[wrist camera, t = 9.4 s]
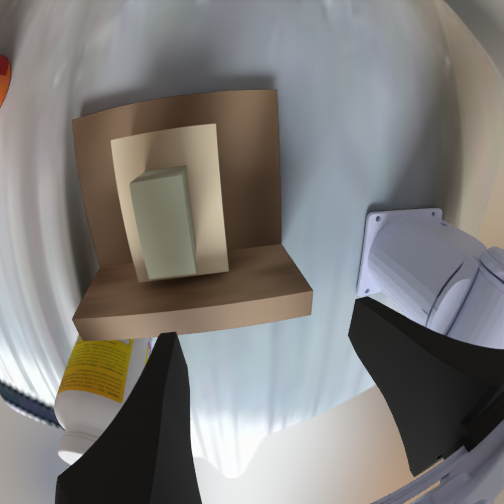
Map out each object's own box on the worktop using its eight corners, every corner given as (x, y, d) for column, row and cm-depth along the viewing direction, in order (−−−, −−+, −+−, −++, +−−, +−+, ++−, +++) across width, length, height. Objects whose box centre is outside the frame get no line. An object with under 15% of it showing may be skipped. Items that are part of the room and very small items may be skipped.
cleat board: (271, 92, 16) (314, 72, 9) (277, 256, 21) (311, 314, 14) (79, 120, 14) (19, 121, 7) (111, 277, 19) (82, 341, 13)
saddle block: (212, 125, 15) (220, 120, 9) (222, 241, 18) (236, 304, 12) (130, 137, 14) (86, 144, 8) (149, 251, 17) (128, 316, 11)
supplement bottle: (71, 319, 20) (24, 439, 8) (126, 296, 20) (88, 442, 9) (112, 366, 23) (93, 481, 12) (166, 351, 23) (163, 482, 12)
